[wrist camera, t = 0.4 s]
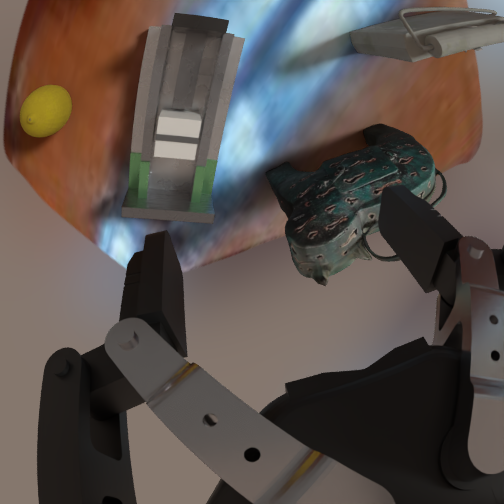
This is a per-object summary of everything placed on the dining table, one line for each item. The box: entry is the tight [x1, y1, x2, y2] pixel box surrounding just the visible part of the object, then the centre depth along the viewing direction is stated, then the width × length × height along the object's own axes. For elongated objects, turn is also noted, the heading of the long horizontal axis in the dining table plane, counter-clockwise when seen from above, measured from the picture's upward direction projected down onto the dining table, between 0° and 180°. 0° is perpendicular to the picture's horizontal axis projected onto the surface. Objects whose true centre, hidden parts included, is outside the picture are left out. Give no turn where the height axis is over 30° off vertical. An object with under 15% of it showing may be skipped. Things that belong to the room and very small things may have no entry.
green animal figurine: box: [266, 124, 447, 286], centre depth 30 cm, size 20×6×20 cm, turn 114°
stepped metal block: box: [172, 13, 229, 109], centre depth 23 cm, size 9×4×7 cm, turn 167°
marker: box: [154, 108, 202, 160], centre depth 28 cm, size 4×4×5 cm
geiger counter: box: [350, 7, 504, 62], centre depth 21 cm, size 14×6×25 cm
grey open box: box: [122, 25, 245, 224], centre depth 28 cm, size 20×10×6 cm, turn 167°
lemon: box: [20, 85, 72, 137], centre depth 23 cm, size 6×6×8 cm
